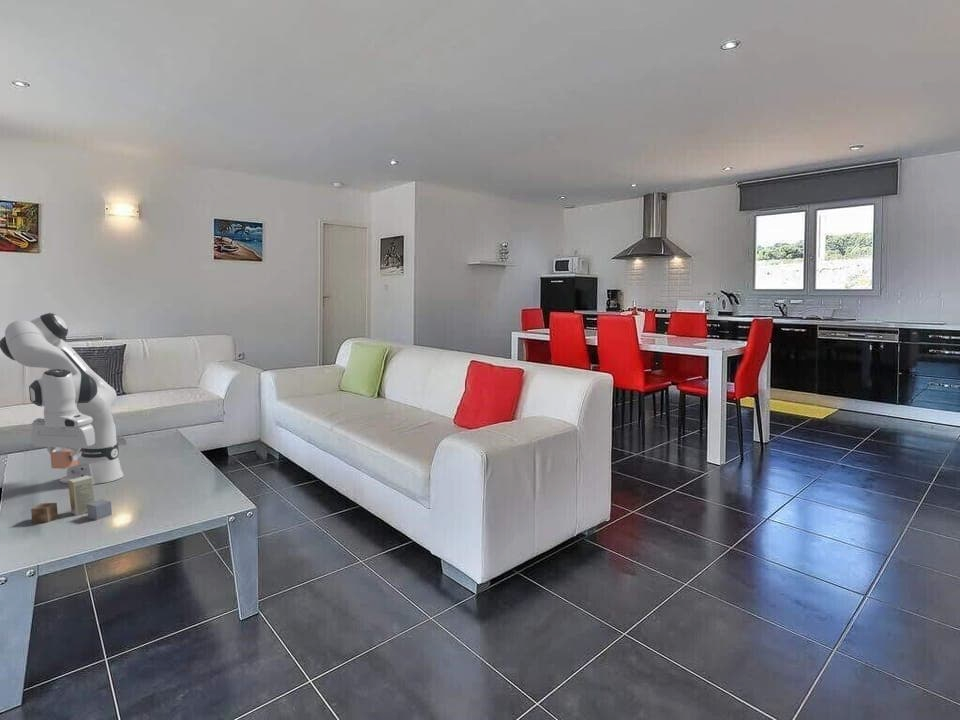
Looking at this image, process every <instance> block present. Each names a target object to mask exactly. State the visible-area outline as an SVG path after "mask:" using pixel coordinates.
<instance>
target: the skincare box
mask: <svg viewBox="0 0 960 720" xmlns="http://www.w3.org/2000/svg"><path fill="white" fill-rule="evenodd" d="M67 484H68V494H69V500H70V501H69V502H70V510H71V513H72V514H73V515H75V516H80V515H83V514H85V513H87V504H88V503H91V502H94V501H96V500H95V491H94V484H93V480H92V477H90V476H88V475H87V476H83V477H79V478H75V479H71V480H68V483H67Z"/></svg>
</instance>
